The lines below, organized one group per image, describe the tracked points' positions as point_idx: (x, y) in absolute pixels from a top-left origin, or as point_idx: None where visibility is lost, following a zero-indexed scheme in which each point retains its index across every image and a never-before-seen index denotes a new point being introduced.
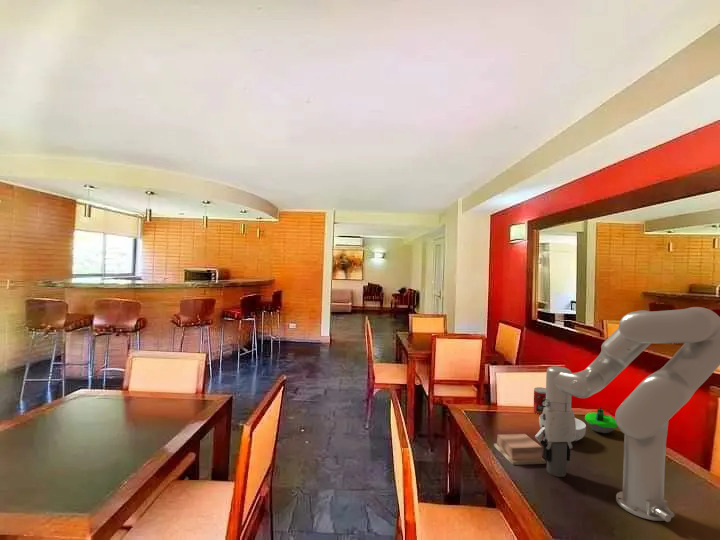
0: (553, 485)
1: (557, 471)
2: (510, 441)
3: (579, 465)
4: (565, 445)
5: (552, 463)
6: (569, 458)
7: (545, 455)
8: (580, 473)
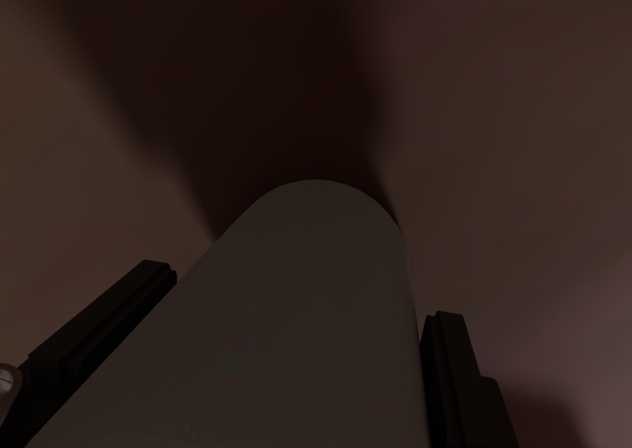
0: (564, 55)
1: (371, 212)
2: None
3: (14, 306)
4: (110, 413)
5: (409, 290)
6: (135, 272)
7: (495, 409)
8: (90, 194)
